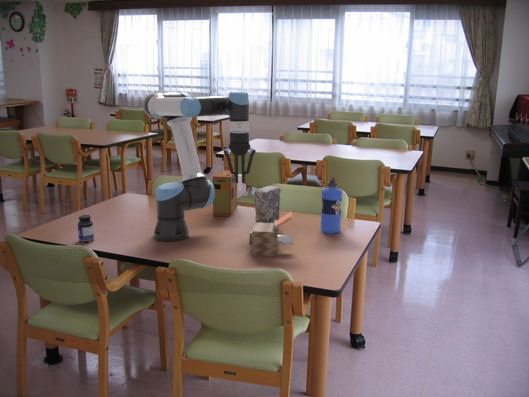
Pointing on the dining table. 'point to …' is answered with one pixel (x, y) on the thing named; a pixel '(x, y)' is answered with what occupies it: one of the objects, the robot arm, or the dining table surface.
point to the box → (224, 193)
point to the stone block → (267, 204)
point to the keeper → (282, 220)
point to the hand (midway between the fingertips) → (240, 191)
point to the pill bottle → (85, 228)
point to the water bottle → (331, 208)
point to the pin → (280, 239)
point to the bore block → (264, 239)
